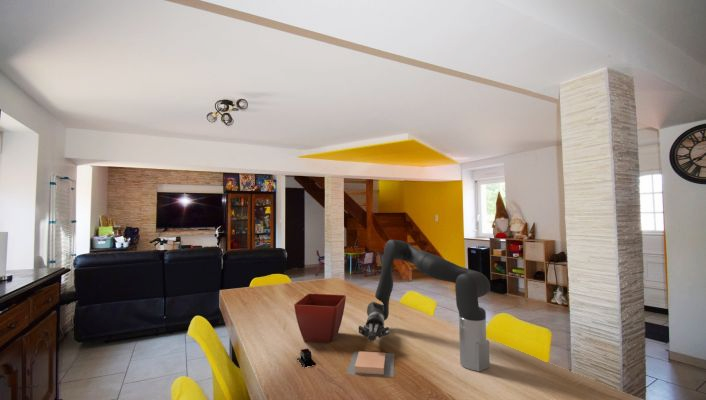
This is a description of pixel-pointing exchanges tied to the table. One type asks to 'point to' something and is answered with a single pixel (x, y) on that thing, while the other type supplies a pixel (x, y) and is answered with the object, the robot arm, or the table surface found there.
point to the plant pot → (320, 316)
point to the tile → (370, 363)
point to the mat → (387, 373)
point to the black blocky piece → (306, 358)
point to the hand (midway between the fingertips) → (371, 338)
